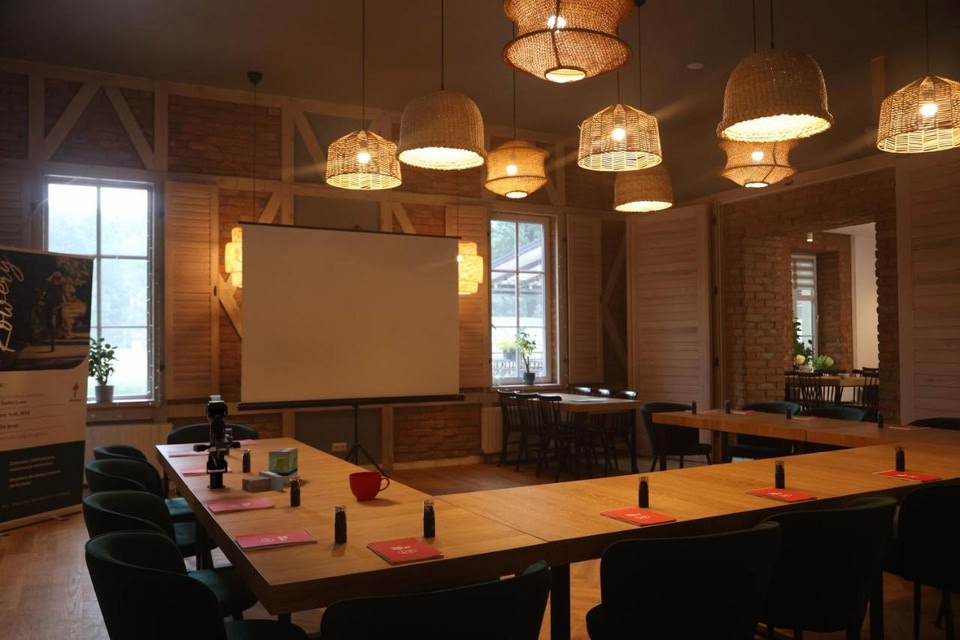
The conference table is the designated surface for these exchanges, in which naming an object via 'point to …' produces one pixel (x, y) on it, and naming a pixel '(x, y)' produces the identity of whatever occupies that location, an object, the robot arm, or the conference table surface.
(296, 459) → the tea box
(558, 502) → the conference table surface
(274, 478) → the gray and cream block
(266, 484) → the walnut block
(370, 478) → the ceramic cup
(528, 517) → the conference table surface
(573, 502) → the conference table surface
